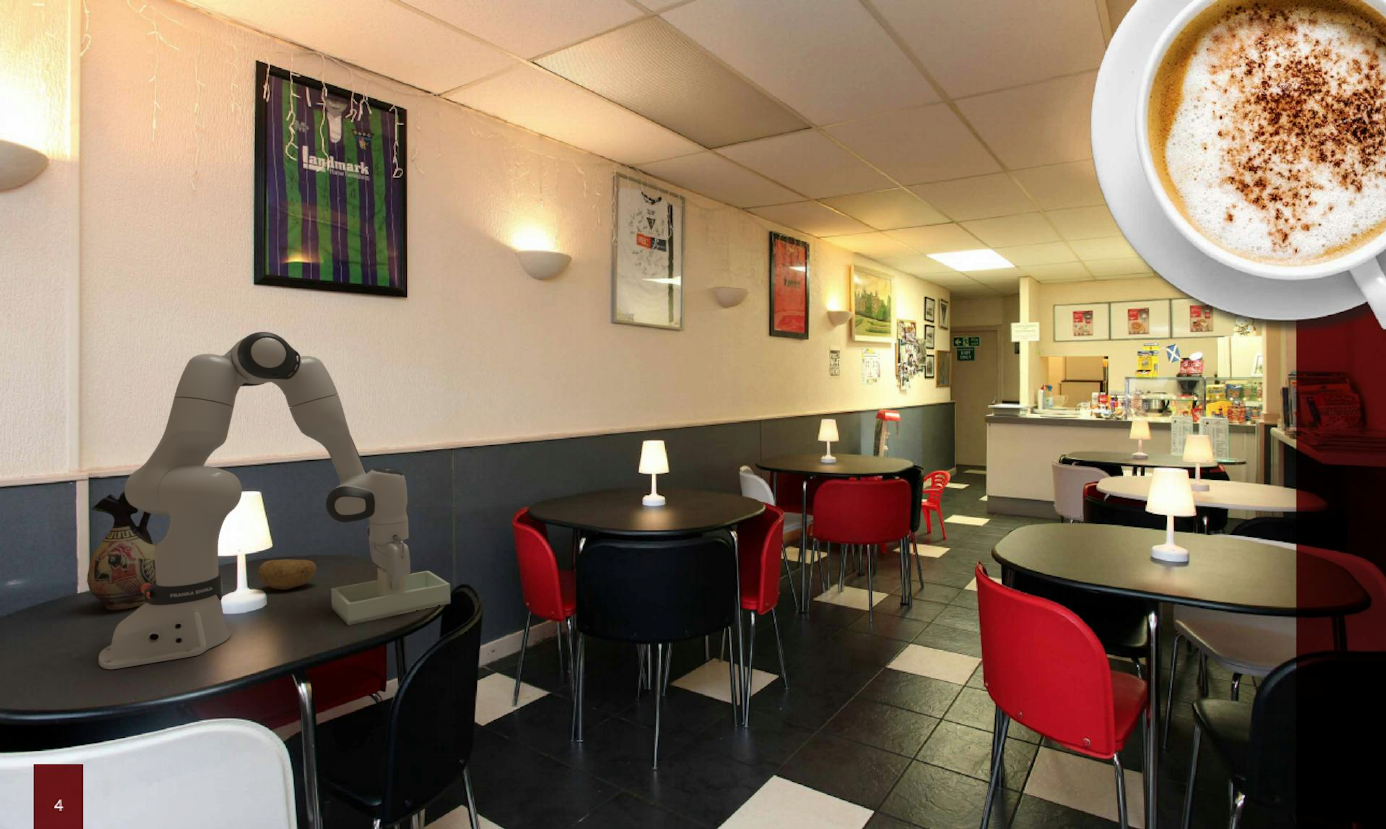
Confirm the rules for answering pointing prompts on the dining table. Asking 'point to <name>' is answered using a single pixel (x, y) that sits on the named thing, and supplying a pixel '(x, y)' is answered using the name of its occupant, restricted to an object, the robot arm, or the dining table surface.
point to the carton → (388, 583)
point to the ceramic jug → (122, 557)
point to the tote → (389, 598)
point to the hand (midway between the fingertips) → (390, 586)
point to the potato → (286, 573)
